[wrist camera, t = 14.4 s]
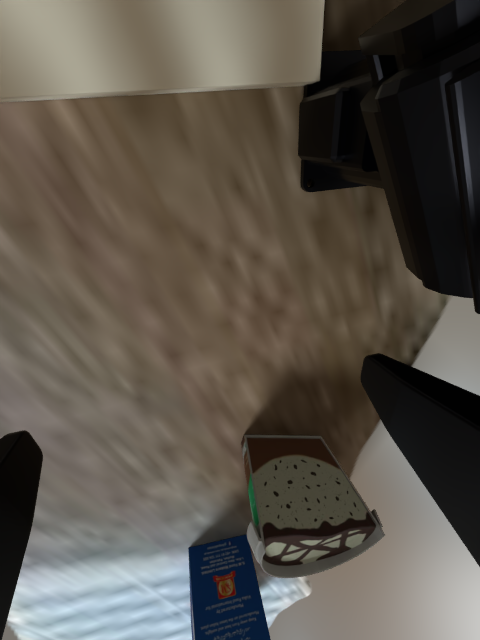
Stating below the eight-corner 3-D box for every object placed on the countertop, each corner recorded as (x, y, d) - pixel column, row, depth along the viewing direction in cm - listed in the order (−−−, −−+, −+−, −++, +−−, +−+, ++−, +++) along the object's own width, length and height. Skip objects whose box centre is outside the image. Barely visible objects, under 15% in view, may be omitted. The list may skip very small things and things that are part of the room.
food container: (213, 473, 32) (232, 591, 23) (229, 434, 29) (257, 552, 21) (310, 470, 36) (356, 569, 28) (332, 436, 33) (389, 534, 25)
